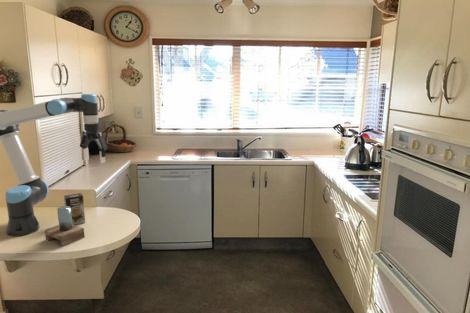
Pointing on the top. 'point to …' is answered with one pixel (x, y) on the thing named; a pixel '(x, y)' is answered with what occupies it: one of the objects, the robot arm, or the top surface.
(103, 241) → the top surface
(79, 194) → the coffee box
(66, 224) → the clear cup
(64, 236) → the walnut shelf
